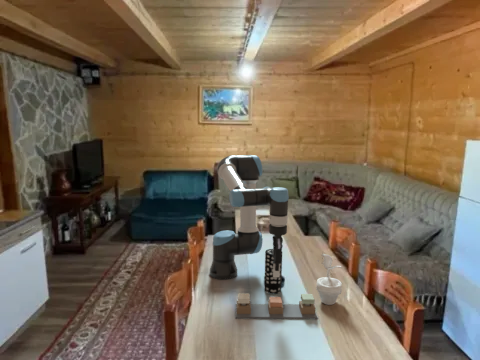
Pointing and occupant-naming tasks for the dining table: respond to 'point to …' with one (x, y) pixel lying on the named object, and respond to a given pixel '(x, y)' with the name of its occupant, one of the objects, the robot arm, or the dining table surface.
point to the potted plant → (328, 283)
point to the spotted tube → (271, 274)
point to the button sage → (307, 299)
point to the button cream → (243, 299)
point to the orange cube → (275, 301)
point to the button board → (275, 311)
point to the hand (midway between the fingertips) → (276, 276)
